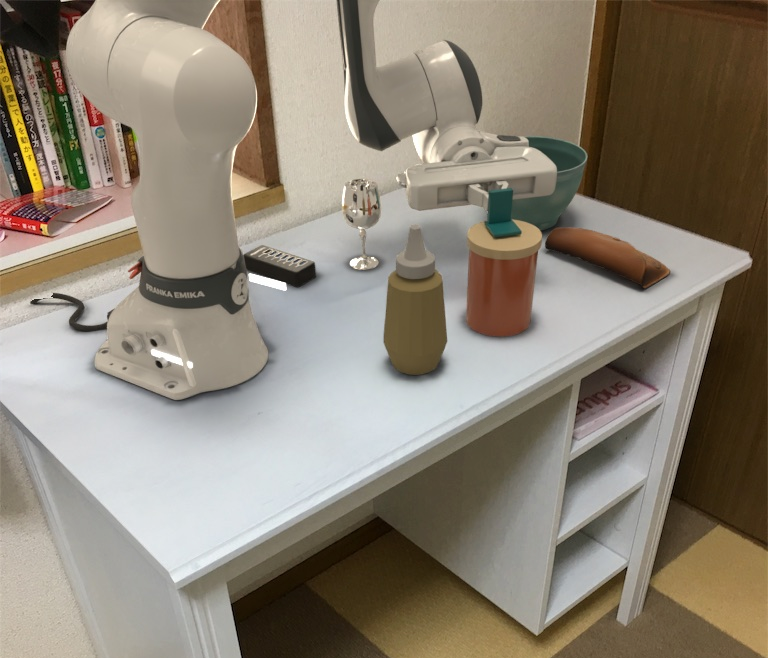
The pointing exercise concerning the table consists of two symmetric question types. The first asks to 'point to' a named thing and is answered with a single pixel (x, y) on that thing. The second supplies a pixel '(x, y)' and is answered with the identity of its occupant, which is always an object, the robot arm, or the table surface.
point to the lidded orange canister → (500, 294)
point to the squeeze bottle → (415, 310)
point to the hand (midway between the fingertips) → (498, 204)
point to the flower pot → (569, 177)
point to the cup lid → (504, 242)
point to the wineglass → (362, 214)
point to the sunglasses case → (607, 254)
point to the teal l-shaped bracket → (501, 213)
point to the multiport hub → (280, 265)
